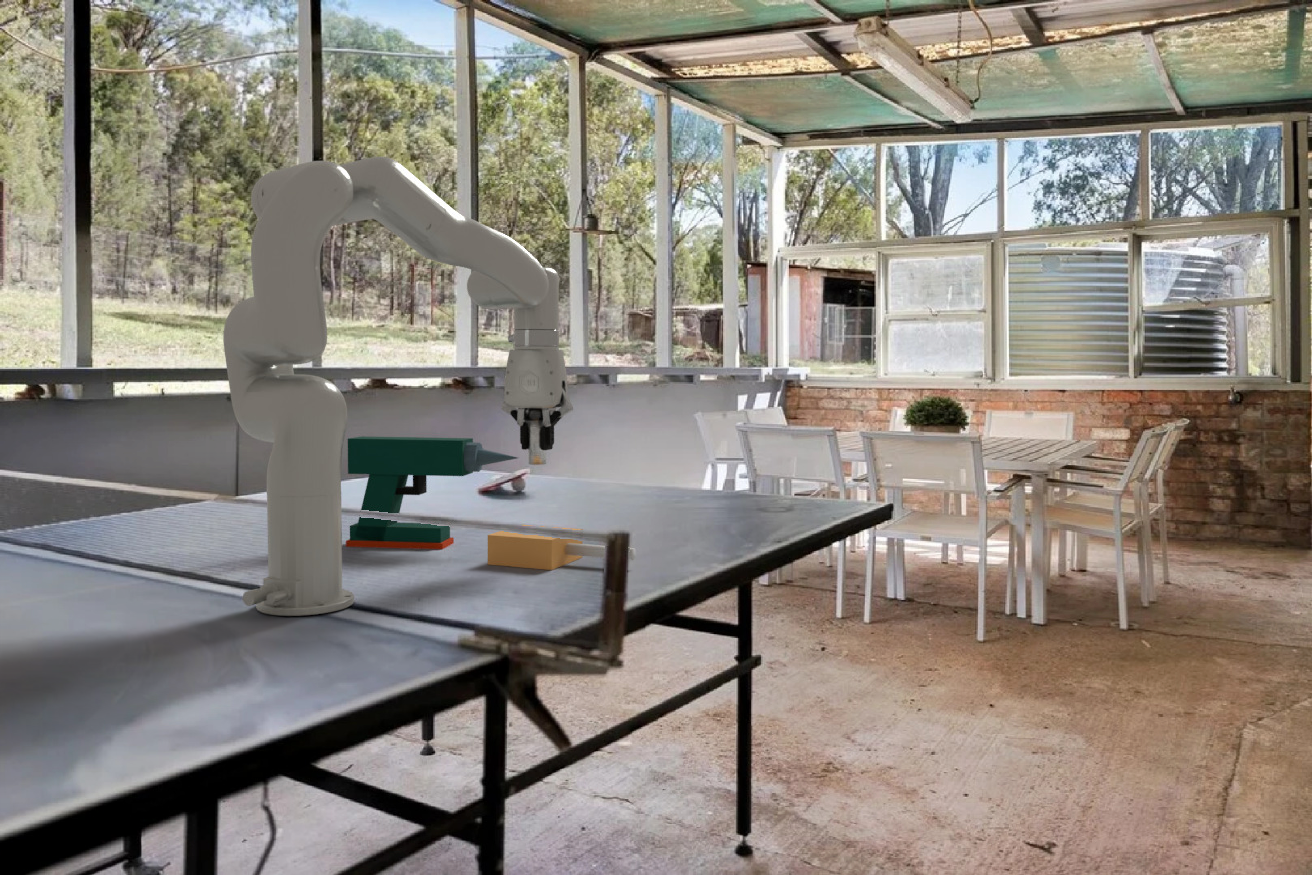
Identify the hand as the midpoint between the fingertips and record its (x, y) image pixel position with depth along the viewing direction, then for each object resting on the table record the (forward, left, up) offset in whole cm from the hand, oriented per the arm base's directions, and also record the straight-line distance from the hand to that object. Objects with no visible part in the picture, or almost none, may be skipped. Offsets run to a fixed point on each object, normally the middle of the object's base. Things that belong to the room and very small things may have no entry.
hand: (537, 448), depth 164 cm
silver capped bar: (0, 0, -3) cm, 3 cm away
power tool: (+6, +24, -20) cm, 32 cm away
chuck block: (0, -6, -19) cm, 20 cm away
